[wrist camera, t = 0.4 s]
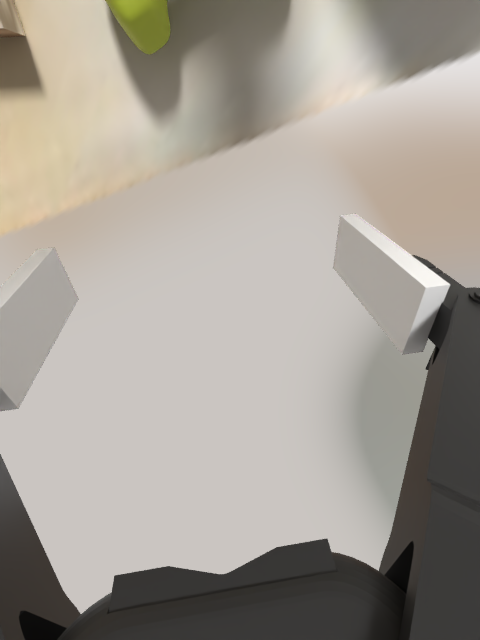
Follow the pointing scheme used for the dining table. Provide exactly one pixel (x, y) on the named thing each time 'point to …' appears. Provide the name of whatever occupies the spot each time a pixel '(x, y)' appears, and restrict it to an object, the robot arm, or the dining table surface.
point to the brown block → (10, 20)
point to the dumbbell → (143, 22)
